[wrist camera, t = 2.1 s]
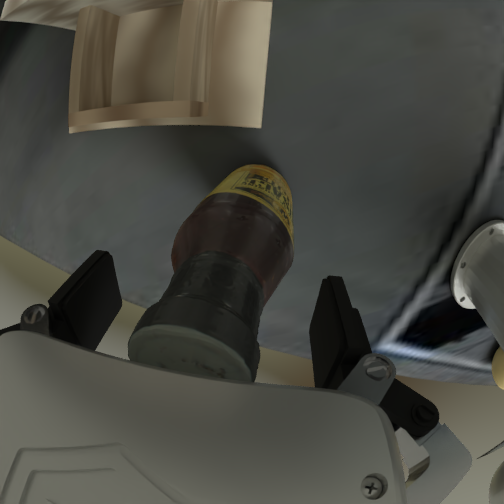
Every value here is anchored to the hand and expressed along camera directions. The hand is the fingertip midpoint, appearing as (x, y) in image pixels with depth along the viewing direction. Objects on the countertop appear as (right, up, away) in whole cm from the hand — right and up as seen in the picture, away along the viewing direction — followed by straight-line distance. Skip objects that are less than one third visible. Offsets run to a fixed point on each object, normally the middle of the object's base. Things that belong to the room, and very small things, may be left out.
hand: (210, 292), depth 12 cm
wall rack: (-7, +20, +8) cm, 22 cm away
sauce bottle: (+2, +7, +14) cm, 15 cm away
